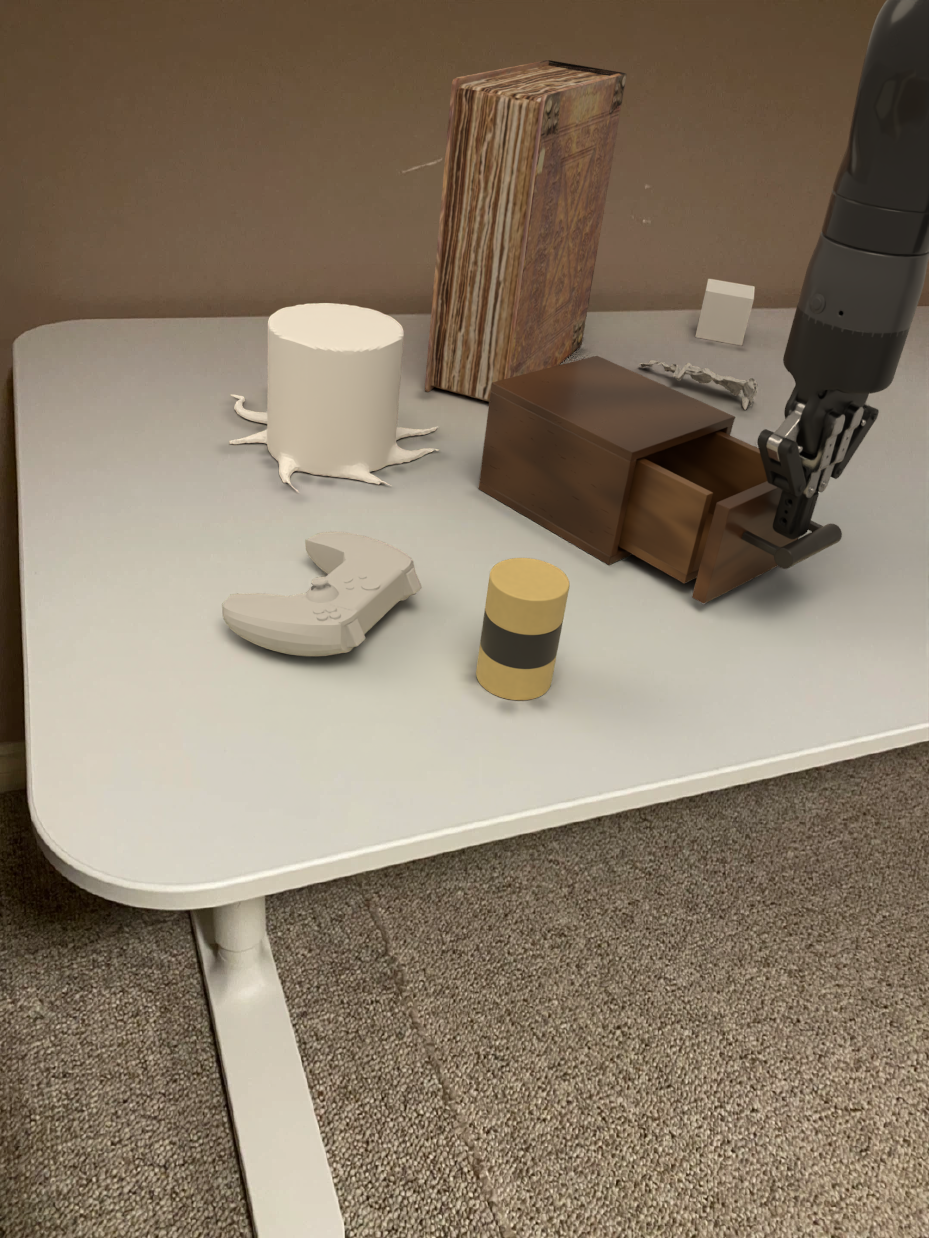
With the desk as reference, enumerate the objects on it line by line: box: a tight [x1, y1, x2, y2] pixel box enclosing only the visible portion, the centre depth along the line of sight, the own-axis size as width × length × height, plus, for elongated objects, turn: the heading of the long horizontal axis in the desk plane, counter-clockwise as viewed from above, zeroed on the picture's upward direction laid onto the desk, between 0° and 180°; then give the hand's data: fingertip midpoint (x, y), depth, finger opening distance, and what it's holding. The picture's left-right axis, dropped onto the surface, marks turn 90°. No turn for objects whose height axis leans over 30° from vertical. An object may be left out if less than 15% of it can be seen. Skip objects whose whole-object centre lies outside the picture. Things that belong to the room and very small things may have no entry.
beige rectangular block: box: [695, 278, 756, 347], centre depth 139 cm, size 6×6×6 cm
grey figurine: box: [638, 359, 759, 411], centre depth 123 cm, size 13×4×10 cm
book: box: [424, 59, 627, 402], centre depth 115 cm, size 25×9×30 cm, turn 156°
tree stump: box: [228, 302, 440, 493], centre depth 99 cm, size 25×20×12 cm
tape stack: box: [475, 557, 570, 701], centre depth 72 cm, size 5×5×8 cm
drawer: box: [618, 430, 843, 605], centre depth 87 cm, size 19×12×8 cm, turn 43°
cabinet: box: [478, 355, 736, 566], centre depth 94 cm, size 16×14×10 cm
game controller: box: [221, 531, 423, 657], centre depth 77 cm, size 14×4×10 cm
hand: (788, 532), depth 83 cm, fingers closed
